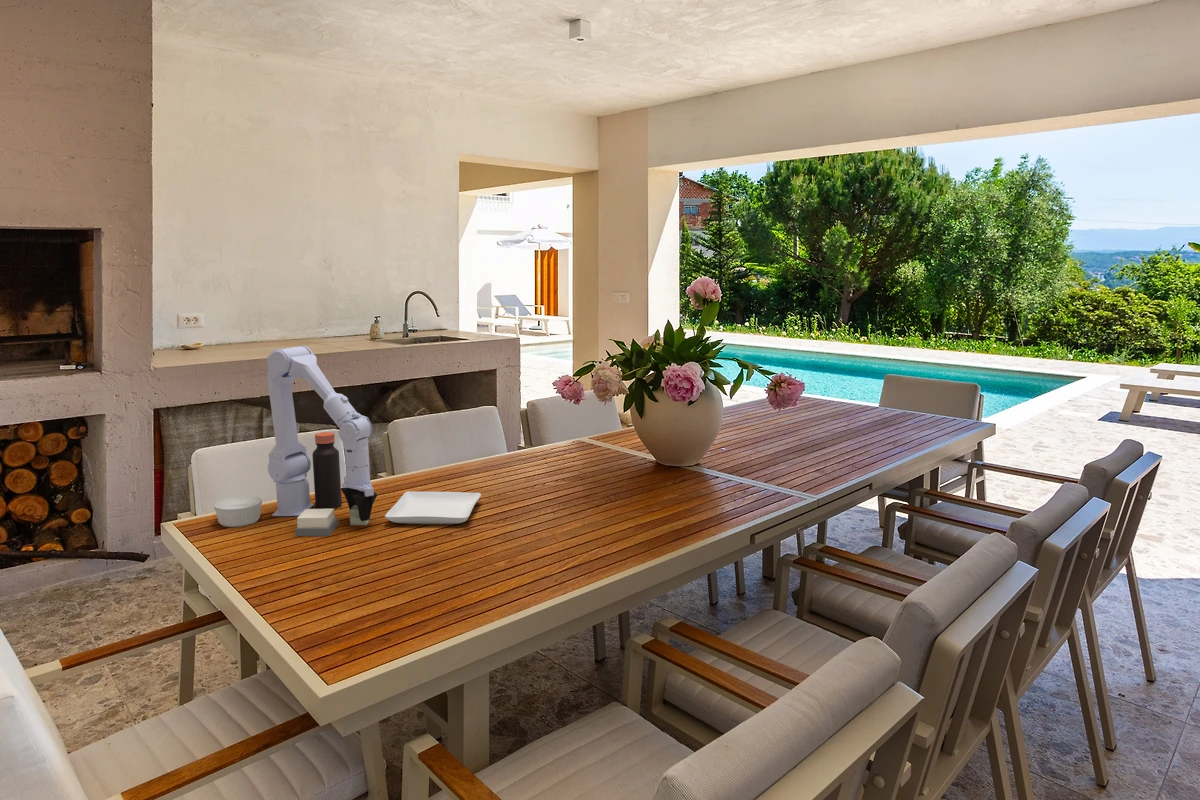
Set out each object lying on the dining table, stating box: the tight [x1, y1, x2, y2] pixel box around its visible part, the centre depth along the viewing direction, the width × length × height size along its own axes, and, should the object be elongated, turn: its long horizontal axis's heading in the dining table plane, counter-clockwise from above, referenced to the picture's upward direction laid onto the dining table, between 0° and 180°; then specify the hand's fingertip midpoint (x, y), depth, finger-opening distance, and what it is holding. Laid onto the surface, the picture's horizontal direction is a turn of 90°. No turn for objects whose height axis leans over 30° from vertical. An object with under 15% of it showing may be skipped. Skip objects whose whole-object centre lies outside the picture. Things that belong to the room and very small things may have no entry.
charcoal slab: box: [294, 517, 339, 538], centre depth 194 cm, size 8×8×2 cm
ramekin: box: [213, 495, 263, 528], centre depth 200 cm, size 11×11×5 cm
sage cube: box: [349, 505, 371, 526], centre depth 200 cm, size 4×4×4 cm
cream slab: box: [296, 508, 336, 528], centre depth 193 cm, size 7×7×2 cm
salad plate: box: [384, 490, 482, 525], centre depth 206 cm, size 21×21×3 cm
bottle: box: [311, 431, 343, 509], centre depth 211 cm, size 7×7×20 cm
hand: (360, 516), depth 200 cm, fingers open, 6 cm apart
